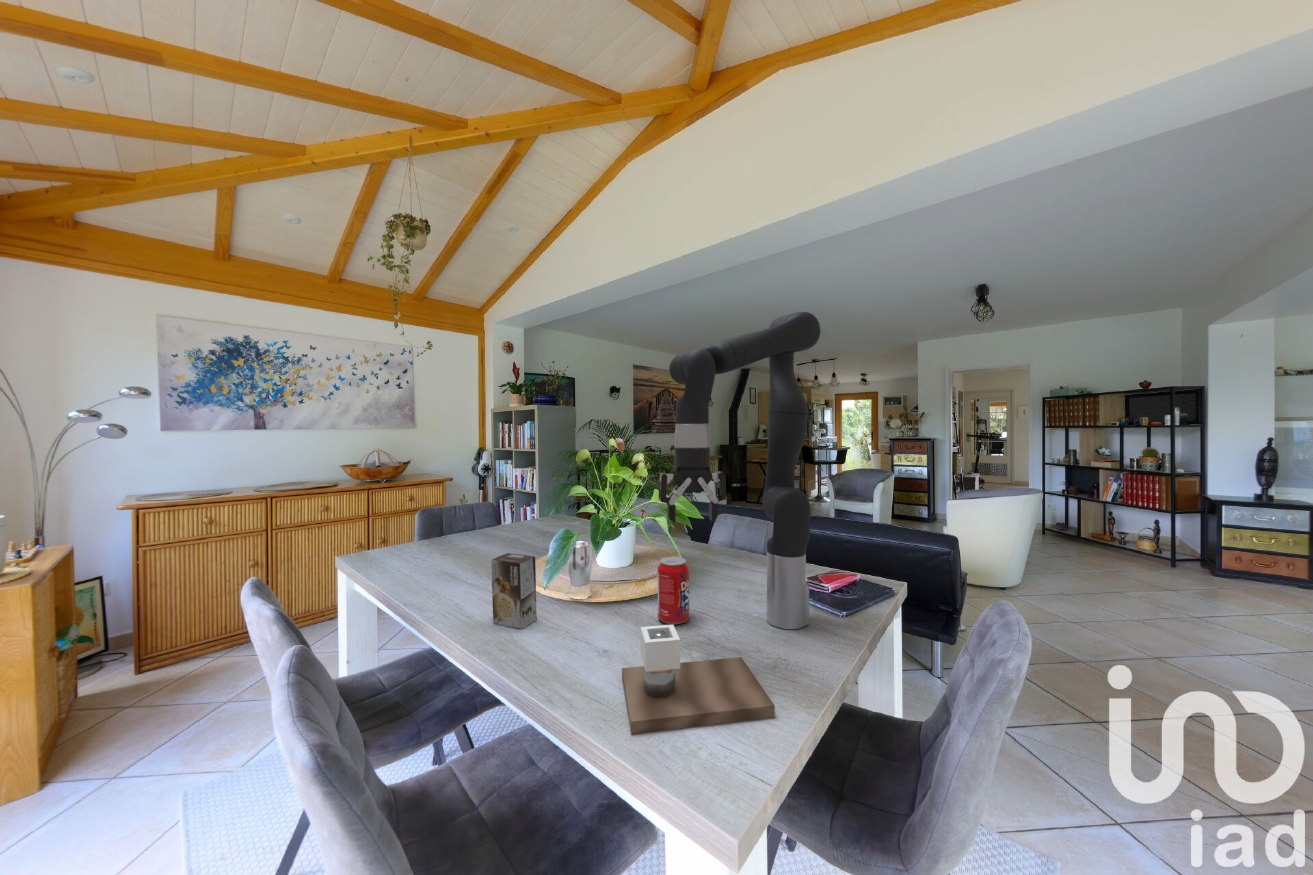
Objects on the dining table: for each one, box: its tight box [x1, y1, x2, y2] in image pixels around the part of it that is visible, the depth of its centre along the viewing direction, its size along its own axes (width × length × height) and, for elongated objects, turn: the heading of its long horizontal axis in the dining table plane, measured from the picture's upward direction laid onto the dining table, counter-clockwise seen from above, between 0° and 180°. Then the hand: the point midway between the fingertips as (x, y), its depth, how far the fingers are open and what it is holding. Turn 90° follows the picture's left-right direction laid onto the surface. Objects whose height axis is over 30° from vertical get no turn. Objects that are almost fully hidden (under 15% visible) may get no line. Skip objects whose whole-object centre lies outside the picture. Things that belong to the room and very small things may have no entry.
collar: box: [640, 624, 681, 672], centre depth 81 cm, size 6×6×5 cm
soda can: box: [657, 556, 690, 626], centre depth 114 cm, size 8×8×15 cm
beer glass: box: [567, 540, 593, 587], centre depth 130 cm, size 7×7×15 cm
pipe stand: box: [621, 630, 776, 735], centre depth 82 cm, size 24×16×12 cm, turn 99°
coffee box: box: [490, 552, 538, 630], centre depth 113 cm, size 9×6×16 cm
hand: (692, 521), depth 98 cm, fingers open, 8 cm apart
